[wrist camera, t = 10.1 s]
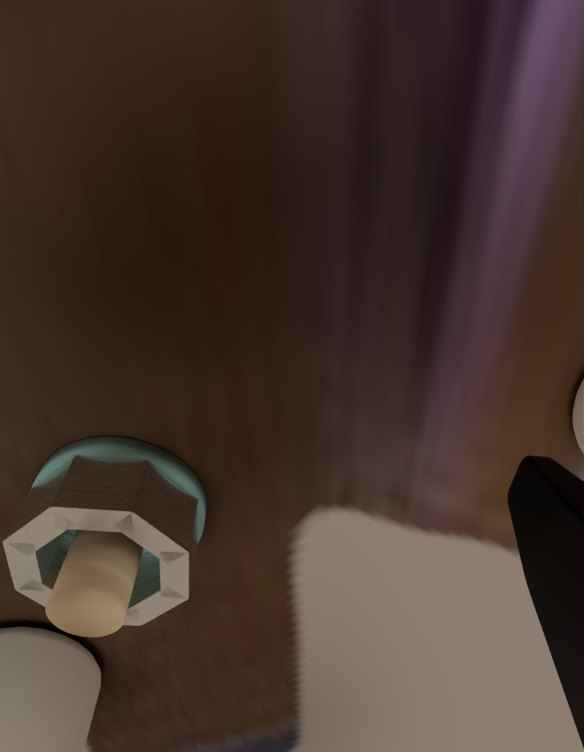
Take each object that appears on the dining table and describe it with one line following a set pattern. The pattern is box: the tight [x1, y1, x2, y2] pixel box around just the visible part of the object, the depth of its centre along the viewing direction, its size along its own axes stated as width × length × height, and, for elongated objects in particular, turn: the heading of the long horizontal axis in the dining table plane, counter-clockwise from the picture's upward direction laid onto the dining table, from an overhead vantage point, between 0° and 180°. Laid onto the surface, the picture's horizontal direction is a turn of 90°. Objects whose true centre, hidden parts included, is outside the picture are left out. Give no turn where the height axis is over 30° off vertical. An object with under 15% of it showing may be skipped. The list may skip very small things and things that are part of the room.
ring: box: [3, 455, 198, 626], centre depth 24 cm, size 7×7×3 cm
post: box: [31, 436, 207, 637], centre depth 24 cm, size 8×8×6 cm
